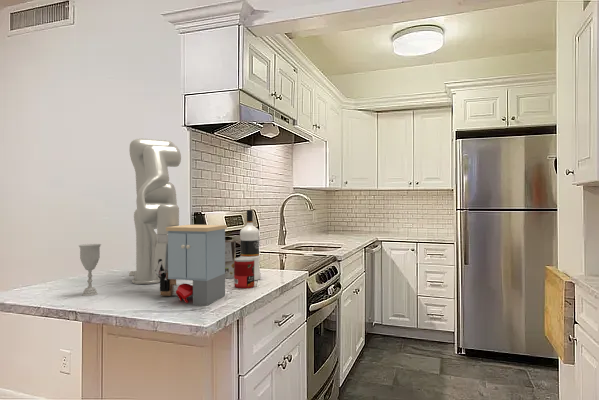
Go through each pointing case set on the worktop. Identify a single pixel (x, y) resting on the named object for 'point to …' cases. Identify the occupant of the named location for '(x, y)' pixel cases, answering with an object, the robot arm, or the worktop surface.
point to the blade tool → (171, 288)
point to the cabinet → (198, 259)
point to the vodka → (250, 243)
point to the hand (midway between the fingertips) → (168, 289)
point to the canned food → (244, 272)
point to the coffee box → (230, 258)
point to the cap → (184, 291)
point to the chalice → (89, 264)
